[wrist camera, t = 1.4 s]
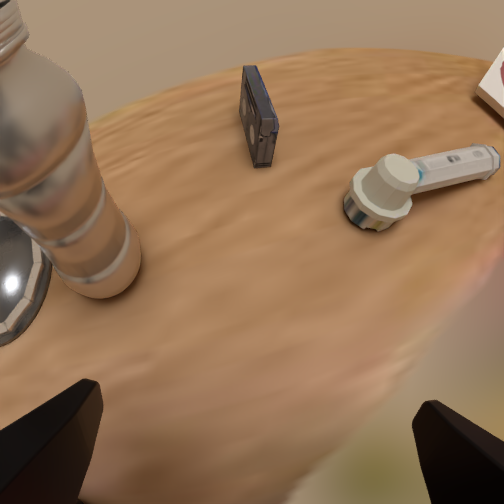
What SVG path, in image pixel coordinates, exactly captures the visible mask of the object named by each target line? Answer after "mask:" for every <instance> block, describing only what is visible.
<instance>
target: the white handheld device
mask: <svg viewBox="0 0 504 504" xmlns="http://www.w3.org/2000/svg"><path fill="white" fill-rule="evenodd" d="M499 168H500V155H499V154H498V152H497V151H496V150H495V149H494V147H491V146H486V145H484V144H474V143H473V144H472V145H471V146H470V147H467V148H462V149H457V150H452V151H447V152H442V153H437V154H433V155H428V156H423V157H419V158H414V159H410V160H408V159H407V158H405V157H404V156H400V155H397V154H389V155H386V156H384V157H382V158H381V159H380V160H379V161H378V162H377V163H376V164H375V166H374V167H369V168H363V169H360V170H359V171H358V172H357V174H356V175H355V176H354V177H353V178H352V180H351V181H350V191H349V192H348V193H347V195H346V196H345V198H344V210H345V212H346V213H347V215H348V216H349V218H350V220H351V221H352V222H354V223H355V224H357V225H358V226H360V227H361V228H363V229H365V228H366V227H367V228H373V229H376V230H377V232H378V231H381V230H384V229H386V228H388V227H389V226H390V225H391V224H392V223H393V222H395V221H398V220H400V219H403V218H404V217H405V216H406V215H407V214H408V212H409V210H410V208H411V206H412V200H411V195H412V194H416V193H420V192H424V191H428V190H432V189H437V188H441V187H445V186H449V185H453V184H457V183H462V182H466V181H470V180H474V179H483V180H486V179H487V178H488V177H489V176H490V175H494V174H495V173H496V172H497V170H498V169H499Z"/></svg>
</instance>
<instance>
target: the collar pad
mask: <svg viewBox="0 0 504 504" xmlns="http://www.w3.org/2000/svg"><path fill="white" fill-rule="evenodd" d="M51 270H52V262H51V261H50V260H49V259H48V257H47V256H46V255H45V253H44V252H43V251H42V250H41V248H40V247H39V246H38V244H37V243H36V242H35V241H34V240H33V239H32V238H31V237H30V236H29V235H28V234H26V233H25V232H24V231H23V230H22V229H21V228H20V227H19V226H18V225H17V224H16V223H14V222H13V221H12V220H11V219H10V218H9V217H7V216H6V215H5V214H3V213H2V212H1V211H0V346H3V345H6V344H8V343H10V342H12V341H13V340H15V339H16V338H18V337H19V336H20V335H21V334H22V333H23V332H24V331H25V330H26V329H27V328H28V326H29V325H30V324H31V323H32V321H33V320H34V318H35V317H36V315H37V313H38V311H39V310H40V308H41V305H42V303H43V301H44V299H45V296H46V293H47V290H48V286H49V282H50V277H51Z"/></svg>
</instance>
